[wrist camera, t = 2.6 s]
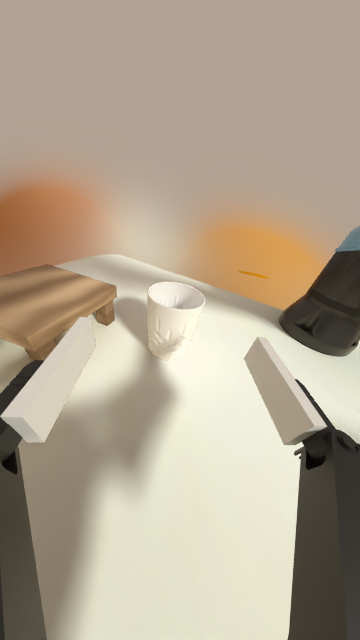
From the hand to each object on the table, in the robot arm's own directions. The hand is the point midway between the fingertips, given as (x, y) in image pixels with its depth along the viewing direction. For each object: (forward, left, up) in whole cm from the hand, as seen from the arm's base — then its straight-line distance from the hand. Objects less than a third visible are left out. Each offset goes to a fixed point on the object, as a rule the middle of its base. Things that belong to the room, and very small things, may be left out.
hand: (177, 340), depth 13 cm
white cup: (+3, -9, -11) cm, 15 cm away
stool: (+21, -4, -11) cm, 24 cm away
